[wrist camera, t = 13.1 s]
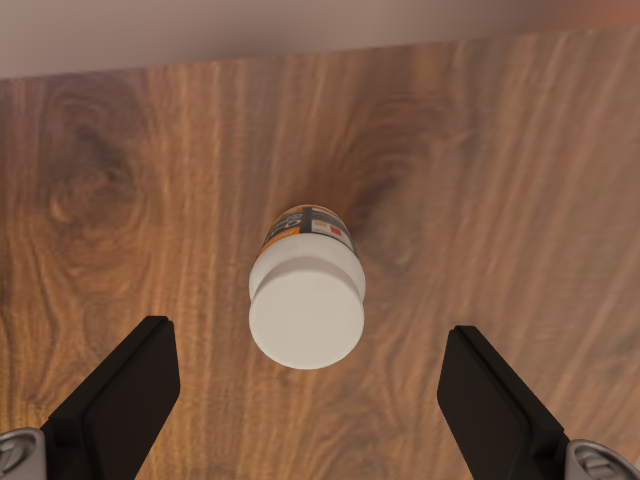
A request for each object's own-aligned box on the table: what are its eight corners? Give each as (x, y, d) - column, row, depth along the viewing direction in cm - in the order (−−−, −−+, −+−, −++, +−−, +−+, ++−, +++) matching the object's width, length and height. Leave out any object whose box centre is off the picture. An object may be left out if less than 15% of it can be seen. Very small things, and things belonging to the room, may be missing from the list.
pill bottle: (286, 189, 21) (264, 231, 11) (363, 222, 21) (404, 288, 12) (256, 262, 22) (214, 354, 13) (329, 290, 23) (341, 396, 13)
